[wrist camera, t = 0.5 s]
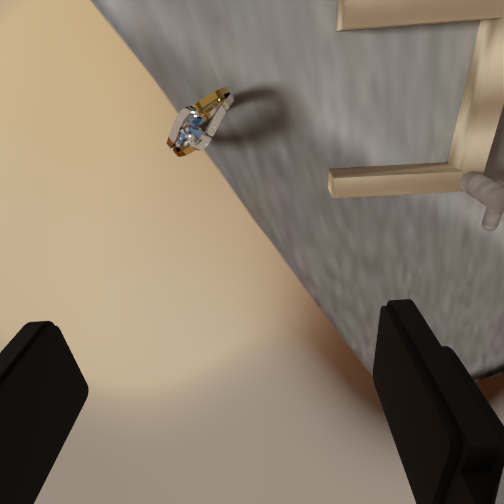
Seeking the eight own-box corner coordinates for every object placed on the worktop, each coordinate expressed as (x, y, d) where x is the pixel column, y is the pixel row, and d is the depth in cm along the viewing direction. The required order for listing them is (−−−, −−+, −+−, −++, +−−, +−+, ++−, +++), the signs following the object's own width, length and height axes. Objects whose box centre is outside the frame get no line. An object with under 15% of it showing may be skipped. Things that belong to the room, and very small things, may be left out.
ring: (189, 149, 34) (172, 174, 27) (168, 122, 33) (144, 141, 26) (245, 106, 32) (241, 121, 25) (224, 75, 31) (214, 82, 24)
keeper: (337, 2, 28) (363, -14, 21) (513, -12, 27) (598, -33, 20) (326, 204, 37) (341, 239, 30) (457, 198, 36) (503, 232, 30)
